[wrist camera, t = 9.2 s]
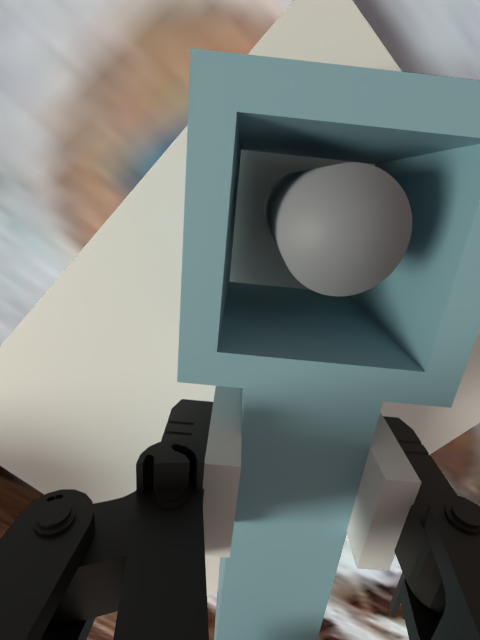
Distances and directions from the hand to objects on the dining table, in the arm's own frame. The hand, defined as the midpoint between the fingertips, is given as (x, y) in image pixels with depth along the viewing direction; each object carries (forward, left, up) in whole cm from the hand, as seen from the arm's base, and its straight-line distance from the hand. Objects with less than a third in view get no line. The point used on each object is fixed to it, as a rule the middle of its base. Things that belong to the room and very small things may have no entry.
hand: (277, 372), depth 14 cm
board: (+2, 0, -3) cm, 3 cm away
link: (0, 0, -1) cm, 1 cm away
